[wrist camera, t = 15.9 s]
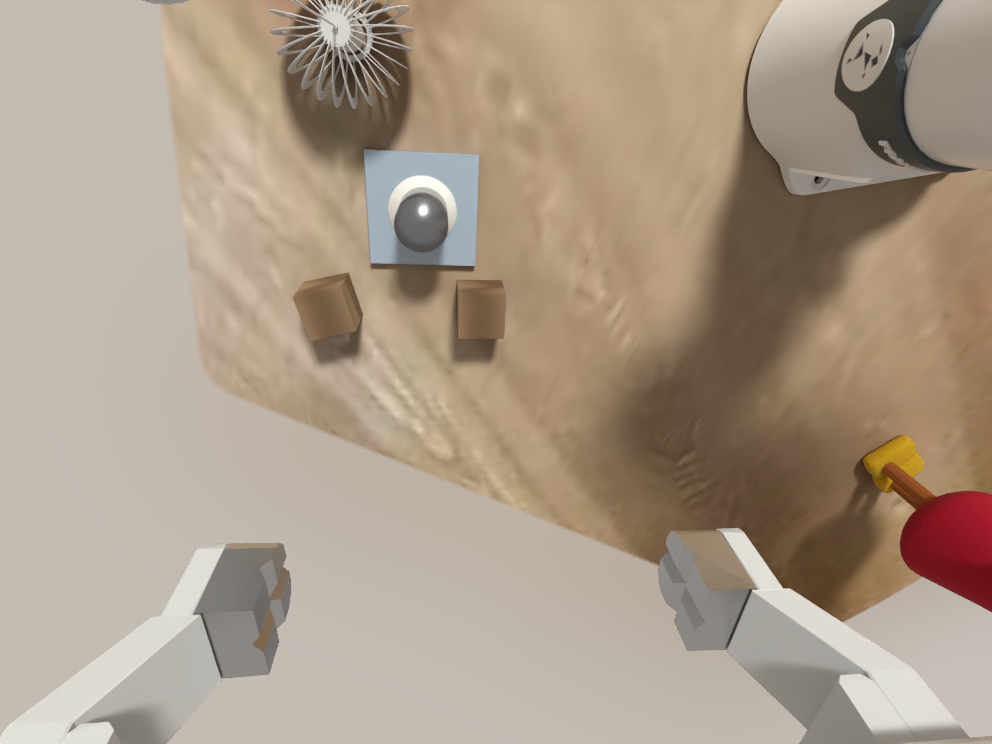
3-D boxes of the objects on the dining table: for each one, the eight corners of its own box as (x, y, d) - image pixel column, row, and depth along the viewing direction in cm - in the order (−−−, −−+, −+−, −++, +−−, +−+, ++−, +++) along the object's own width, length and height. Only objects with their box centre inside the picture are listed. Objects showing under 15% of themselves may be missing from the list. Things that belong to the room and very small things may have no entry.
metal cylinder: (447, 237, 44) (448, 253, 39) (399, 235, 43) (394, 251, 39) (447, 187, 42) (448, 199, 38) (397, 185, 42) (392, 196, 37)
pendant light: (364, 135, 40) (218, 214, 14) (256, 38, 37) (-212, -102, 10) (442, 32, 38) (441, -112, 11) (333, -84, 34) (-38, -690, 8)
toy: (948, 503, 66) (1281, 771, 40) (869, 546, 69) (1132, 825, 43) (882, 366, 55) (1282, 614, 29) (790, 424, 58) (1081, 700, 32)
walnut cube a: (501, 280, 47) (506, 295, 43) (499, 320, 49) (504, 338, 45) (457, 279, 47) (458, 295, 43) (457, 321, 48) (458, 338, 45)
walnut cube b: (348, 272, 45) (340, 287, 42) (362, 313, 47) (356, 331, 44) (304, 281, 45) (292, 297, 42) (320, 322, 47) (310, 341, 44)
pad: (478, 154, 42) (479, 155, 41) (474, 264, 46) (475, 266, 45) (364, 149, 41) (363, 149, 40) (371, 261, 45) (370, 263, 44)
